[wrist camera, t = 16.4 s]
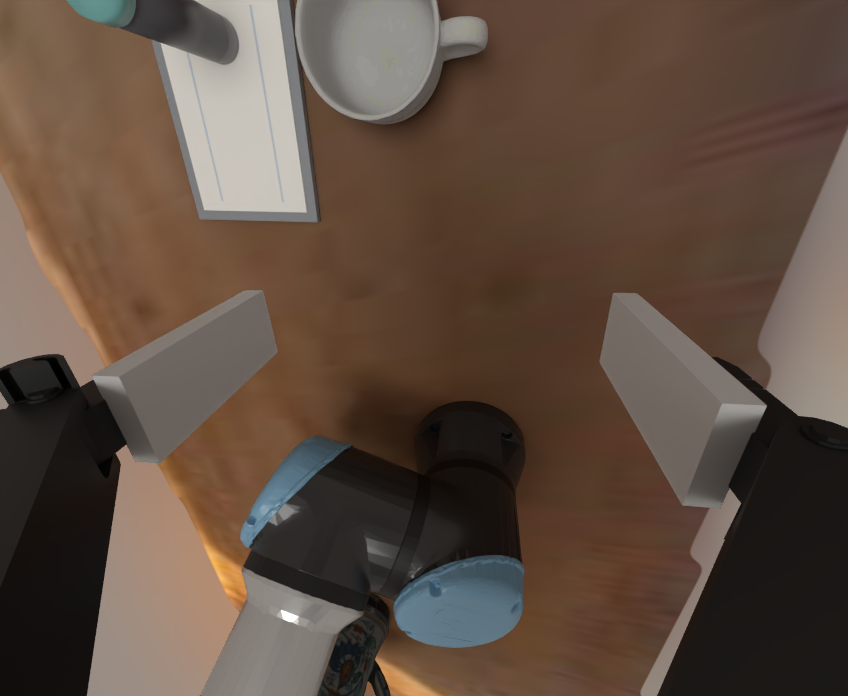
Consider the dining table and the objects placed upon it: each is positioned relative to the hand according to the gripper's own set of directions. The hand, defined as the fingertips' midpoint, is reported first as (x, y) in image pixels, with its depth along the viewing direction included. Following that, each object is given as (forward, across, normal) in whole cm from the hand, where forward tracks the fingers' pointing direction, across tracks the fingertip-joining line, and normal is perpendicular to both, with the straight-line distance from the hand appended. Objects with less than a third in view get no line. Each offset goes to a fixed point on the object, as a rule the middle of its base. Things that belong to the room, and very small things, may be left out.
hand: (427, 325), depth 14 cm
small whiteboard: (+28, +22, -10) cm, 37 cm away
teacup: (+28, +5, -14) cm, 32 cm away
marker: (+27, +22, -16) cm, 38 cm away
